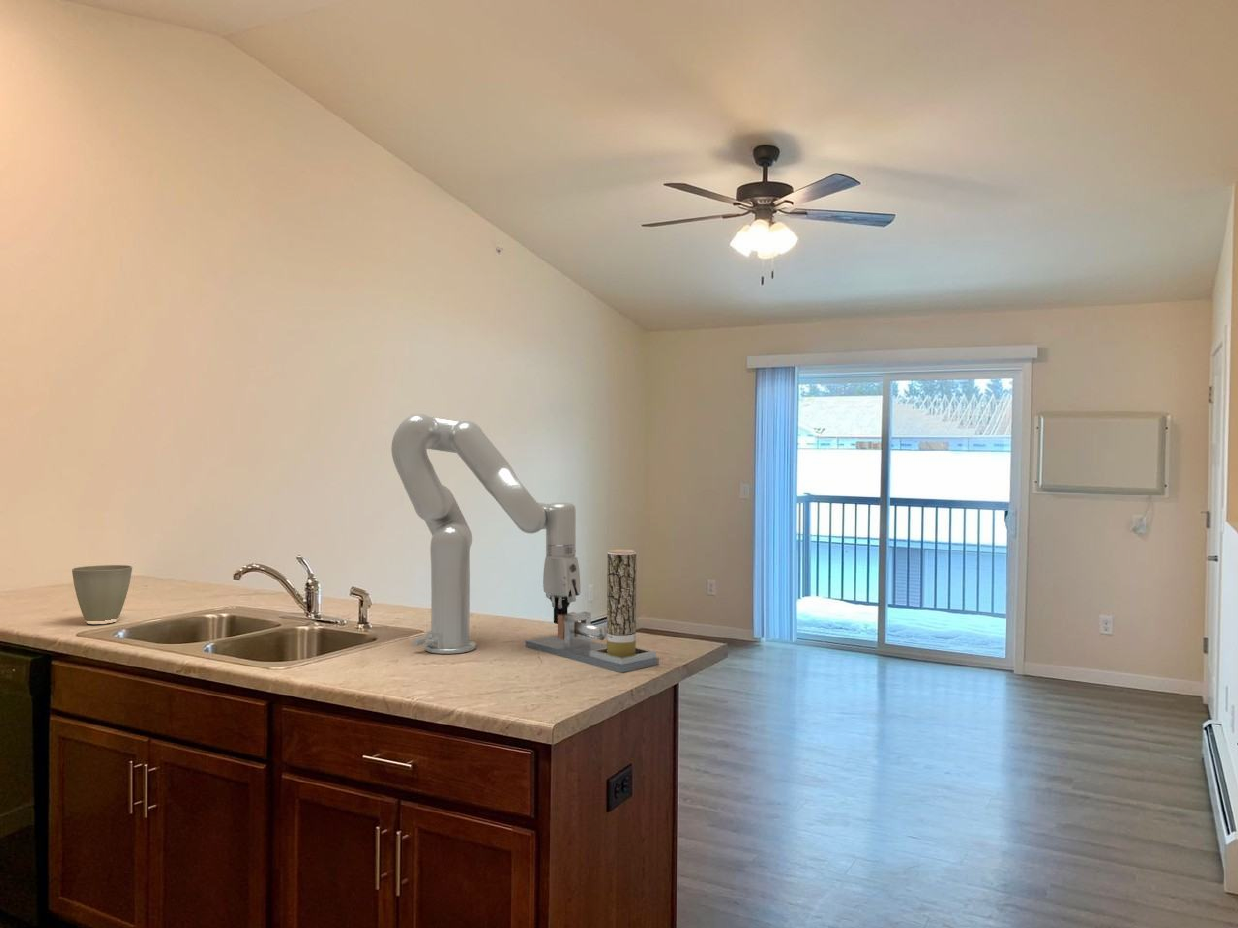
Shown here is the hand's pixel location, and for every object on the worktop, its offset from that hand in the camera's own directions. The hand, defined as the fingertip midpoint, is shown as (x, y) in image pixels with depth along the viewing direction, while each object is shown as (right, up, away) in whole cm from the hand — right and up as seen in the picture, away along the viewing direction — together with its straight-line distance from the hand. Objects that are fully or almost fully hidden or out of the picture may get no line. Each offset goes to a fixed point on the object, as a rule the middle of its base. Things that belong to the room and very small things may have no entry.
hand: (560, 622), depth 218 cm
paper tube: (+15, -5, -17) cm, 24 cm away
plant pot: (-133, -5, +27) cm, 136 cm away
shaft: (+6, -3, -7) cm, 10 cm away
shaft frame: (+8, -6, -8) cm, 13 cm away
